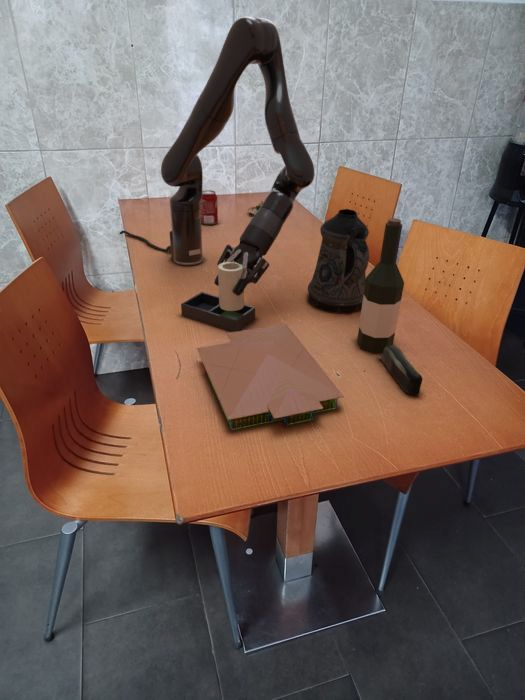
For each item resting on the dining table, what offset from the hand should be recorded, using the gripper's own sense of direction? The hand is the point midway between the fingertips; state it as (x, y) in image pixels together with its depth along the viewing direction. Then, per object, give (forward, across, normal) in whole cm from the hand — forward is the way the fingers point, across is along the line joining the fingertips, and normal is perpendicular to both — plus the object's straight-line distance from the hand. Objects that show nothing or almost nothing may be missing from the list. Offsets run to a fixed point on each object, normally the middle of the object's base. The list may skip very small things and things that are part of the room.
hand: (226, 289), depth 121 cm
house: (+15, +24, -1) cm, 28 cm away
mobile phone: (-1, +42, +15) cm, 45 cm away
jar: (+2, 0, +5) cm, 5 cm away
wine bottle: (-7, +31, +21) cm, 38 cm away
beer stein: (-15, +11, +29) cm, 35 cm away
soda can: (-28, -68, +41) cm, 84 cm away
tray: (+6, -4, +7) cm, 10 cm away
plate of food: (-45, -63, +58) cm, 97 cm away
